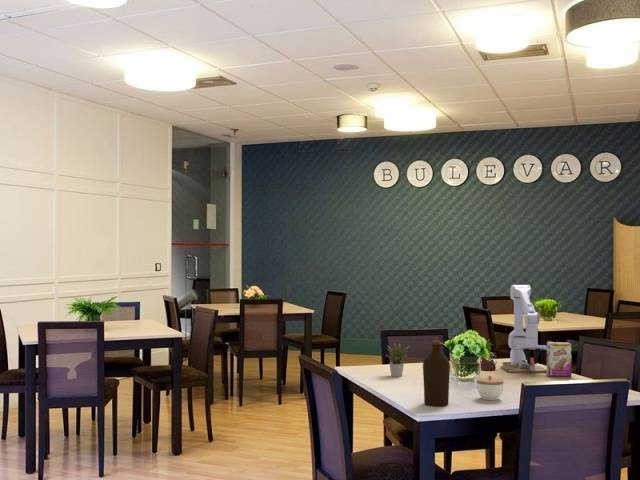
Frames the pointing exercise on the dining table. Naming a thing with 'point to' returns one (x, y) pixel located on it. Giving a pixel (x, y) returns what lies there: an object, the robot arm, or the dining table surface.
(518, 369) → the board
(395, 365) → the house plant
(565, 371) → the candy bar box
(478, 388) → the lidded jar
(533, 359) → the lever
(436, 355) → the olive oil
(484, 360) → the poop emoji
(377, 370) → the dining table surface
